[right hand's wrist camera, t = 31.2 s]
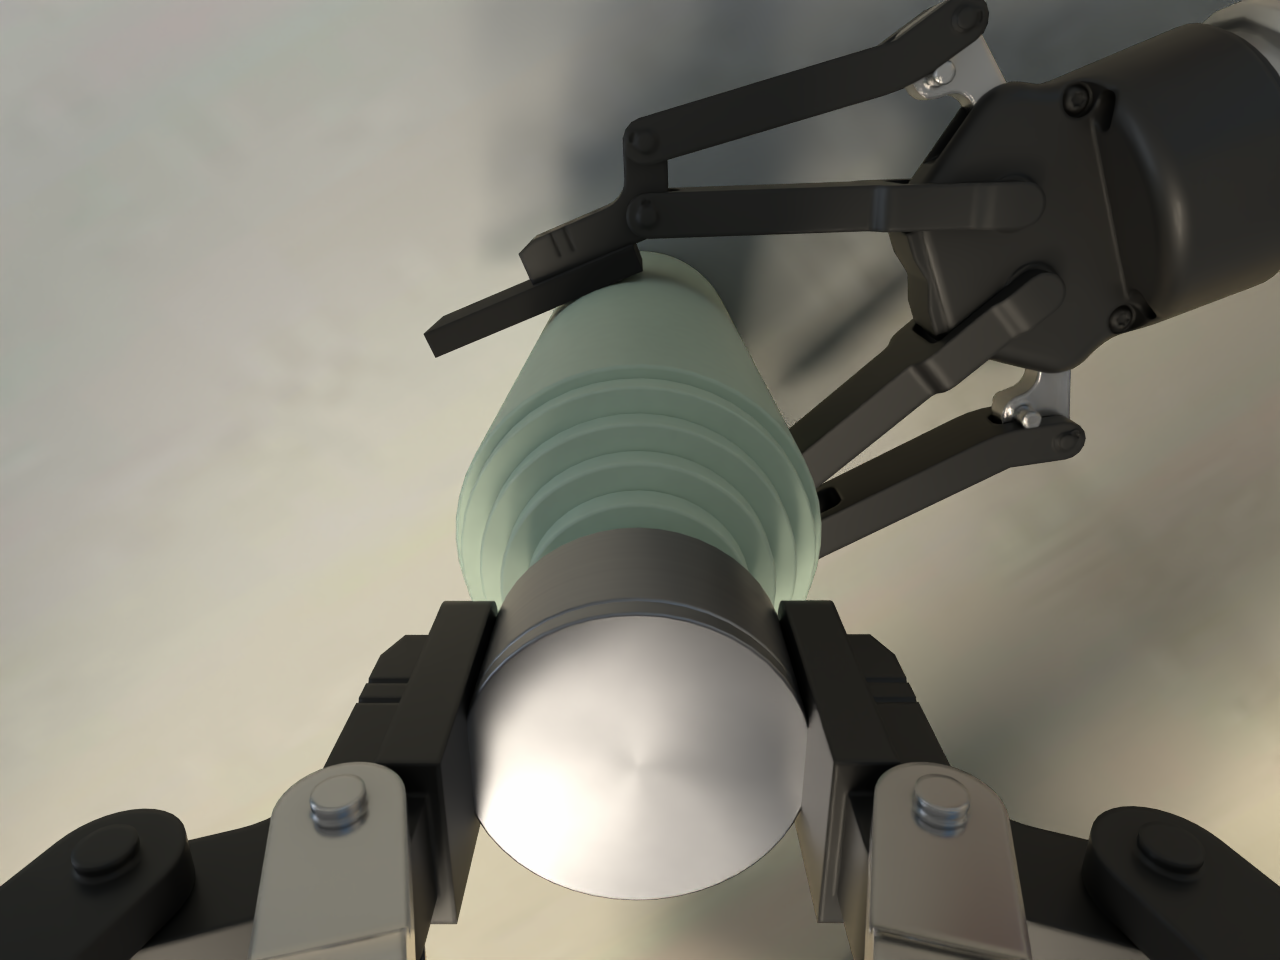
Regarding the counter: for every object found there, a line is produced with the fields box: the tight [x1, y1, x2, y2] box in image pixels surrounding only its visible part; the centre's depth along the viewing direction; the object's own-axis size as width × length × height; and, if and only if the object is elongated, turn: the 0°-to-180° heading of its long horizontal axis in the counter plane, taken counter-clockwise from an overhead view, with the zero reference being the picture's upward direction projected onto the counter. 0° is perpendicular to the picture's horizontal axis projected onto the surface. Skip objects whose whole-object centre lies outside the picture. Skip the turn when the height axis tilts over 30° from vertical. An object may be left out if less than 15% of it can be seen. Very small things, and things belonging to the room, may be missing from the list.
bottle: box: [456, 251, 821, 615], centre depth 22 cm, size 7×7×23 cm
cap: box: [467, 528, 808, 900], centre depth 11 cm, size 4×4×2 cm
